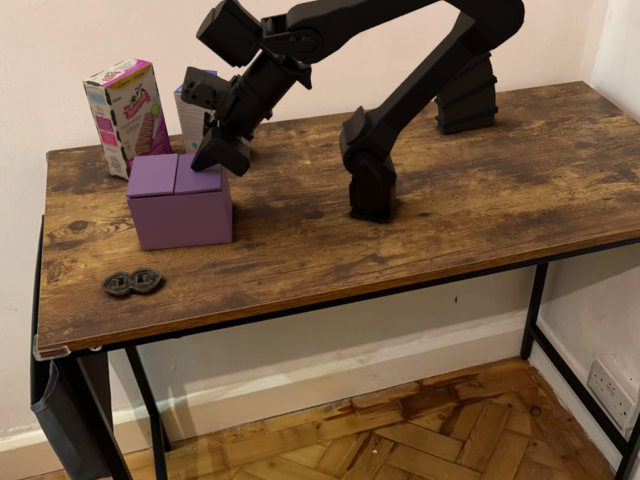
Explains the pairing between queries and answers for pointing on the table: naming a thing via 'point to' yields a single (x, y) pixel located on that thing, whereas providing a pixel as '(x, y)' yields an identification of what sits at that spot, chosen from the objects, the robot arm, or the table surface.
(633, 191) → the table surface
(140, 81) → the candy bar box
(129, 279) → the corroded twin loop
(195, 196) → the box
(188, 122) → the ink cartridge box
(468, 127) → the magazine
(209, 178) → the flap
